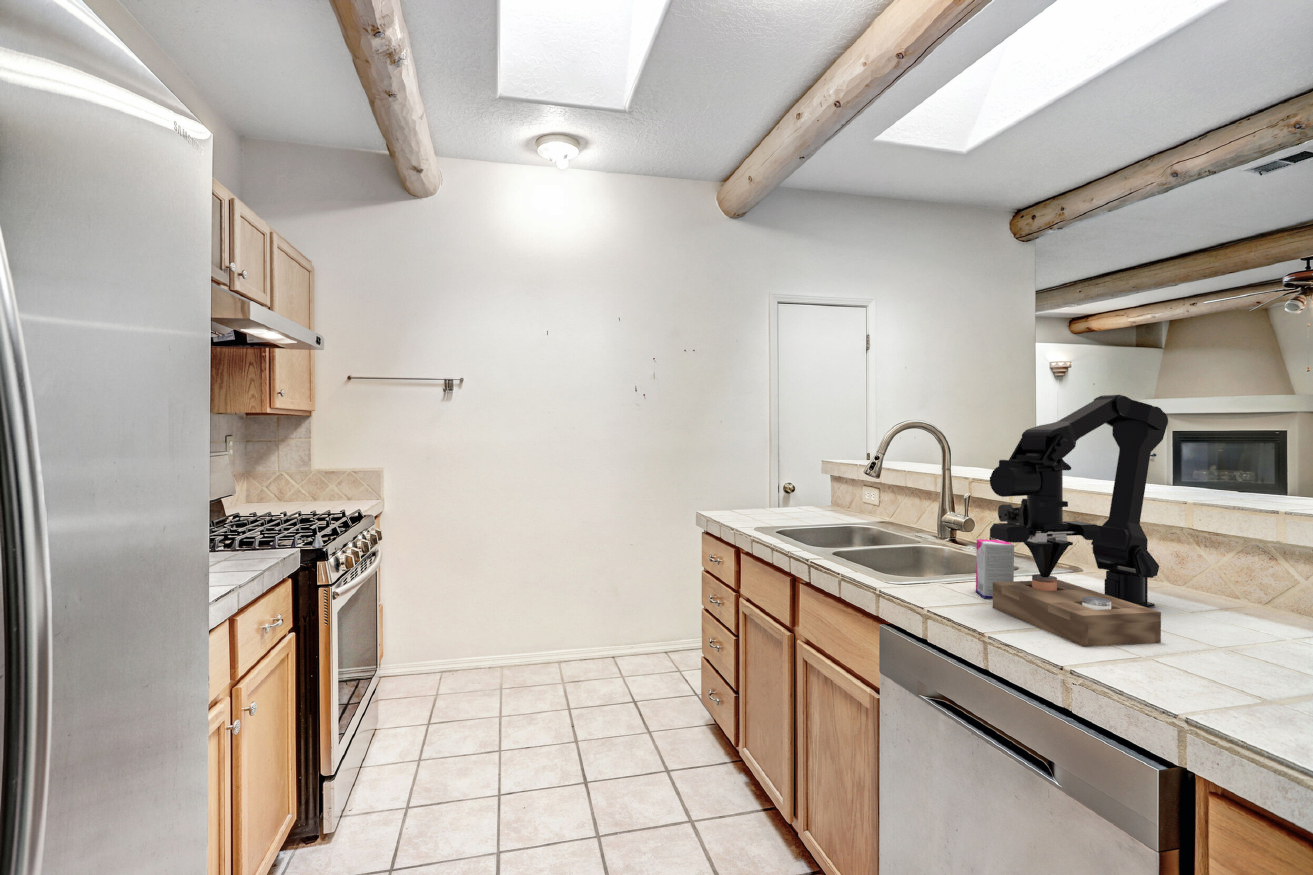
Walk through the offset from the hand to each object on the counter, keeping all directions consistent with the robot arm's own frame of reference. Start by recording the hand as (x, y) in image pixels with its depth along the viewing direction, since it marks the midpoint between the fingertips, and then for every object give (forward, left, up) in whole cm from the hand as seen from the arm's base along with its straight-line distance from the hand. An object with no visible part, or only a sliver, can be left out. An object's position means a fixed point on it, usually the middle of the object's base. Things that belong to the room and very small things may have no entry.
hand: (1044, 577), depth 117 cm
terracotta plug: (0, 0, -5) cm, 5 cm away
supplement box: (+1, -13, -7) cm, 15 cm away
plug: (0, +12, -6) cm, 14 cm away
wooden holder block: (0, +6, -7) cm, 9 cm away
